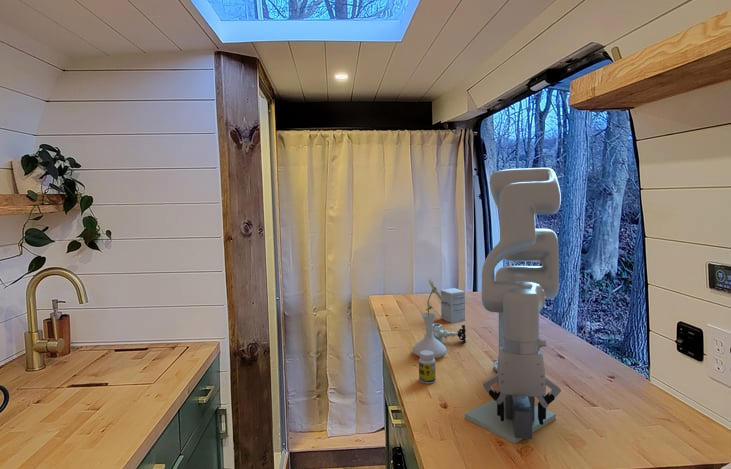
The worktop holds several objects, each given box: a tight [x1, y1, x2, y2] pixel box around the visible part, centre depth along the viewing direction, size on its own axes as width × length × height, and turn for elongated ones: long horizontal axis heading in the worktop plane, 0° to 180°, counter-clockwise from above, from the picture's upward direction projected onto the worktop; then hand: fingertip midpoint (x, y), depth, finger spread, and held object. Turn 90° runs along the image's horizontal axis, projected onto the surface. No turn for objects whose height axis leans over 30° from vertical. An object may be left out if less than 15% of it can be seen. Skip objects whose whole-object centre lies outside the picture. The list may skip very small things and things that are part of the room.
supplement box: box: [440, 287, 466, 324], centre depth 184 cm, size 7×7×13 cm
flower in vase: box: [412, 279, 448, 359], centre depth 147 cm, size 13×11×25 cm
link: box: [504, 395, 536, 440], centre depth 104 cm, size 18×6×6 cm, turn 166°
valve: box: [433, 323, 467, 344], centre depth 158 cm, size 7×7×12 cm
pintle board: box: [464, 398, 557, 445], centre depth 107 cm, size 20×15×6 cm
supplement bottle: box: [418, 350, 437, 385], centre depth 128 cm, size 5×5×8 cm
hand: (521, 419), depth 100 cm, fingers open, 7 cm apart
